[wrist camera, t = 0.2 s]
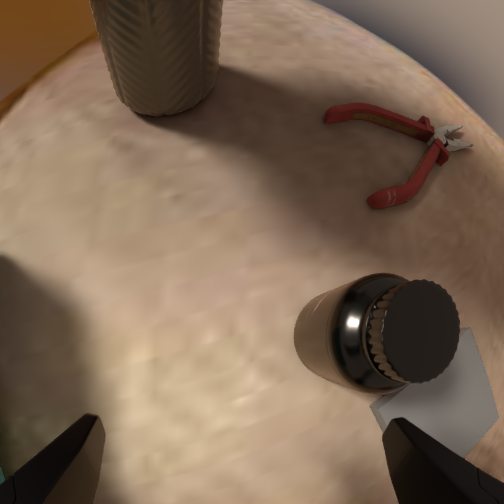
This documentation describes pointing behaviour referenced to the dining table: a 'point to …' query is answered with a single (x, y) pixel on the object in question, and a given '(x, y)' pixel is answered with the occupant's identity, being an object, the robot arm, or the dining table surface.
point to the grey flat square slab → (447, 401)
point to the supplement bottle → (379, 333)
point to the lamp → (160, 51)
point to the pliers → (407, 126)
